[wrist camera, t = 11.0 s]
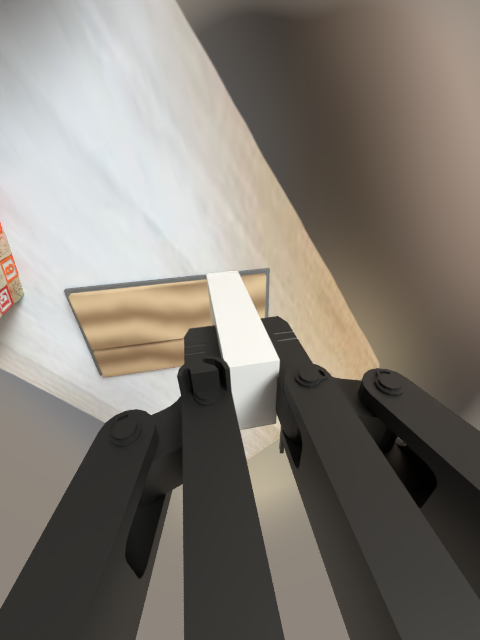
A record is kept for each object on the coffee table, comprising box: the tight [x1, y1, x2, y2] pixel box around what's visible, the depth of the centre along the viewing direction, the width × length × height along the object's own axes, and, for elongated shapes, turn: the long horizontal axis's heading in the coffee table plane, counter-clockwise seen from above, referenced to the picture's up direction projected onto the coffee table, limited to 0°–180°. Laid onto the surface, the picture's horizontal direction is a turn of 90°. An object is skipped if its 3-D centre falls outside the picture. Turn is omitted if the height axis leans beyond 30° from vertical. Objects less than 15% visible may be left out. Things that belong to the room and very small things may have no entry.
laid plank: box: [94, 338, 184, 377], centre depth 48 cm, size 6×29×1 cm, turn 92°
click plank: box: [68, 273, 266, 350], centre depth 44 cm, size 10×29×1 cm, turn 92°
